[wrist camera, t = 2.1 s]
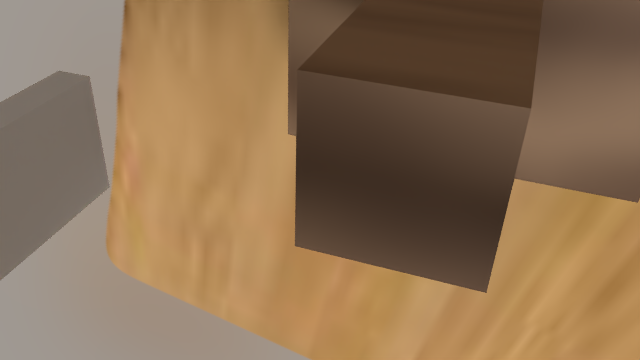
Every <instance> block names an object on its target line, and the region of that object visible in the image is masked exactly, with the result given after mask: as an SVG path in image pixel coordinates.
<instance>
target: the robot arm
mask: <svg viewBox="0 0 640 360" xmlns="http://www.w3.org/2000/svg"><path fill="white" fill-rule="evenodd" d="M107 188H109V182H108V176H107V170H106V165H105V159H104V154H103V148H102V143H101V137H100V132H99V126H98V121H97V115H96V109H95V104H94V98H93V94H92V87H91V82H90V77H89V76H84V75H79V74H73V73H68V72H62V71H58V72H56V73H54V74H52V75H50V76H48V77H47V78H45V79H43V80H41V81H39V82H37V83H35V84H33V85H32V86H30V87H28V88H26V89H24V90H22V91H20V92H19V93H17V94H15V95H13V96H11V97H9V98H8V99H6V100H4V101H2V102H0V280H1V279H3V278H4V277H5V276H6V275H7V274H8V273H9V272H11V271H12V270H13V269H14V268H15V267H17V266H18V265H19V264H20V263H21V262H22V261H24V260H25V259H26V258H27V257H28V256H29V255H31V254H32V253H33V252H34V251H35V250H36V249H37V248H39V247H40V246H41V245H42V244H43V243H45V242H46V241H47V240H48V239H49V238H50V237H52V235H54V234H55V233H56V232H57V231H59V230H60V229H61V228H62V227H63V226H64V225H66V224H67V223H68V222H69V221H70V220H71V219H73V218H74V217H75V216H76V215H77V214H78V213H80V212H81V211H82V210H83V209H84V208H85V207H87V206H88V205H89V204H90V203H91V202H92V201H94V200H95V199H96V198H97V197H98V196H99V195H100V194H102V193H103V192H104V191H105V190H106V189H107Z"/></svg>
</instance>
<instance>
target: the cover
mask: <svg viewBox="0 0 640 360" xmlns="http://www.w3.org/2000/svg"><path fill="white" fill-rule="evenodd" d="M288 134H290V135H295V136H296V210H295V246H297V247H301V248H305V249H309V250H313V251H317V252H322V253H326V254H330V255H334V256H338V257H342V258H346V259H350V260H354V261H358V262H362V263H367V264H371V265H375V266H379V267H383V268H387V269H391V270H395V271H399V272H403V273H407V274H411V275H416V276H420V277H424V278H428V279H432V280H436V281H440V282H444V283H448V284H452V285H456V286H461V287H465V288H469V289H473V290H477V291H481V292H485V293H486V292H487V288H488V284H489V280H490V275H491V271H492V267H493V263H494V259H495V255H496V251H497V247H498V243H499V239H500V235H501V231H502V226H503V222H504V218H505V214H506V210H507V206H508V202H509V198H510V194H511V190H512V186H513V182H514V178H515V179H520V180H525V181H530V182H535V183H540V184H545V185H550V186H556V187H561V188H566V189H571V190H576V191H581V192H586V193H591V194H596V195H602V196H607V197H612V198H617V199H622V200H627V201H632V202H637V203H638V201H639V198H640V0H289V47H288Z"/></svg>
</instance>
